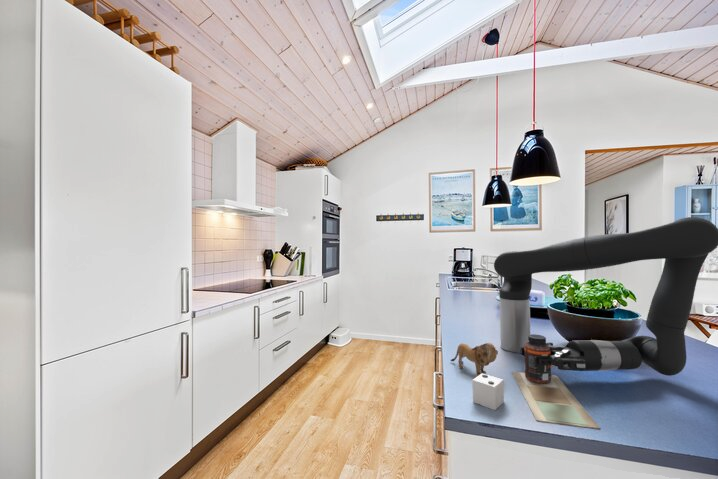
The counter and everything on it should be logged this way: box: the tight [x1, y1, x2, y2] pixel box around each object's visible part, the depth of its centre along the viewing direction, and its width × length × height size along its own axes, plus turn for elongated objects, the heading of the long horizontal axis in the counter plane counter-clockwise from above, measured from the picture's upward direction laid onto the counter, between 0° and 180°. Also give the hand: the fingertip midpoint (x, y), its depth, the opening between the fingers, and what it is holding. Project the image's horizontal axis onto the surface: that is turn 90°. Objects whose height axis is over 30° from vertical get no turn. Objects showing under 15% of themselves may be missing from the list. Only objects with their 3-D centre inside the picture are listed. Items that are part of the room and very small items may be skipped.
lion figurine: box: [450, 342, 499, 377], centre depth 86 cm, size 15×5×9 cm, turn 37°
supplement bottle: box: [523, 333, 552, 384], centre depth 79 cm, size 6×6×11 cm
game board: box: [511, 371, 601, 430], centre depth 71 cm, size 11×24×1 cm, turn 164°
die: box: [472, 373, 505, 411], centre depth 69 cm, size 5×5×5 cm
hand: (527, 355), depth 79 cm, fingers closed on supplement bottle, 6 cm apart
